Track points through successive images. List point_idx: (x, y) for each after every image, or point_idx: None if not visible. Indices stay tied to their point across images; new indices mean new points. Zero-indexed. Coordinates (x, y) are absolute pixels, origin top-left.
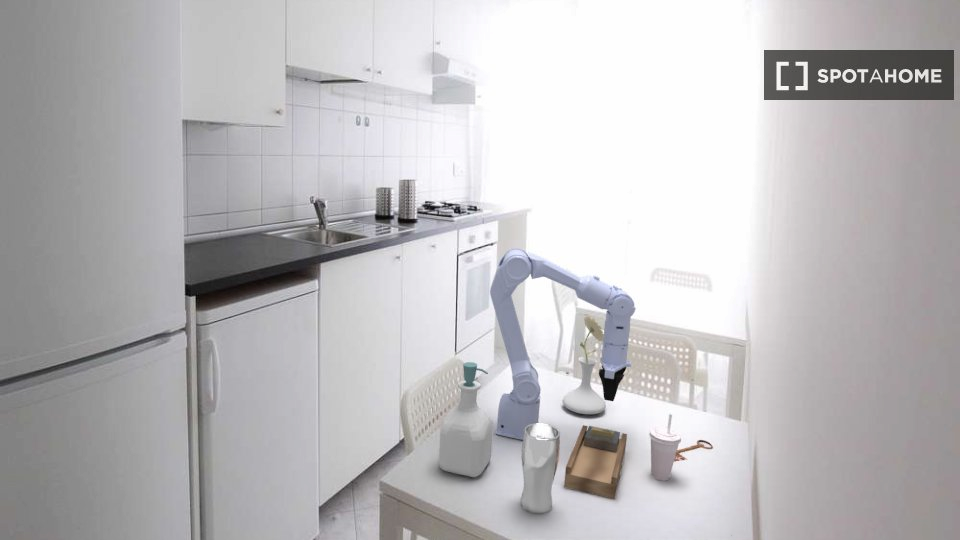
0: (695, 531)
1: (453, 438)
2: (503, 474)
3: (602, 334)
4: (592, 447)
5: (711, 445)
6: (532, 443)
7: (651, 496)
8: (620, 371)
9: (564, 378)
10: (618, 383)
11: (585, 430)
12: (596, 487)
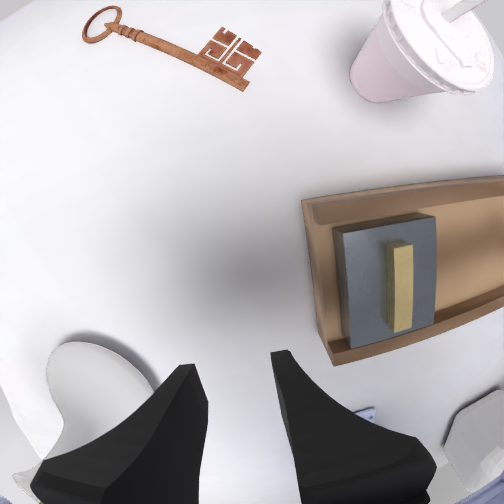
0: (490, 36)
1: None
2: (485, 373)
3: None
4: None
5: (101, 10)
6: None
7: (462, 100)
8: (138, 495)
9: (26, 429)
10: (370, 424)
11: (369, 344)
12: None
